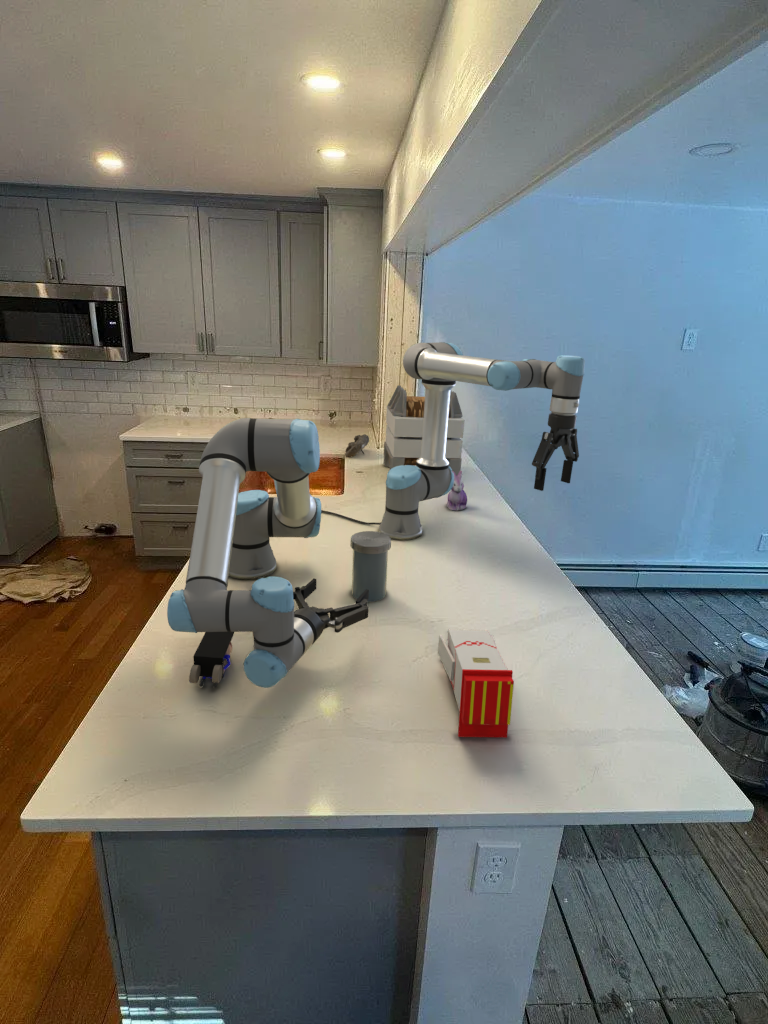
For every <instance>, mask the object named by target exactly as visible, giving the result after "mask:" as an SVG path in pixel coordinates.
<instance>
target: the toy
mask: <svg viewBox="0 0 768 1024" xmlns="http://www.w3.org/2000/svg"><path fill="white" fill-rule="evenodd" d="M446 640H447V643H446V641H445V639H444V636H443V635H442V634H439V637H438V646H437V656H438V657H439V659H440V661H441V663H442V666H443V668H444V670H445V672H446V674H447V677H448V679H449V681H450V684H451V687H452V690H453V693H454V697H455V701H456V705H457V708H458V711H459V714H458V715H459V716H458V730H457V731H458V732H457V737H458V738H508V731H509V726H510V725H511V717H512V707H513V697H514V696H513V695H514V684H515V680H514V679H513V673H514V671H513V670H512V669H508V667H507V665H506V662H505V661H504V659H503V658H502V655H501V653H500V651H499V649H498V647H497V643H496V639H495V637H494V635H493V634H491V632H490V631H489V629H467V628H466V629H465V628H463V629H461V628H460V629H459V628H448V630H447V639H446Z"/></svg>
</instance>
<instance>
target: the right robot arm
mask: <svg viewBox="0 0 768 1024" xmlns="http://www.w3.org/2000/svg"><path fill="white" fill-rule="evenodd" d="M585 365H586V360H585V358H584V357H582V356H578V355H566V354H565V355H564V354H563V355H558V356H557V357H556V360H555V361H549V360H541V359H536V358H524V359H521V360H506V359H505V360H504V359H503V360H502V359H496V358H487V357H479V356H471V355H464V354H463V352H462V350H461V349H460V347H459V346H457V345H456V344H455V343H451V342H445V341H443V342H442V341H441V342H440V341H439V342H438V341H437V342H417V343H414V344H412V345H411V346H409V347H408V348H407V350H406V351H405V353H404V355H403V358H402V366H403V369H404V372H405V373H406V374H407V375H408V376H409V377H411V378H412V379H415V380H421V385H422V386H423V387H424V389H425V392H424V397H425V404H424V419H423V434H422V449H421V457H420V458H418V459H417V461H416V466H413V465H401V466H396V467H394V468H392V469H390V468H389V470H388V472H387V474H386V479H385V504H384V505H385V507H384V508H385V509H384V513H383V515H382V519H381V522H367V521H361V520H358V519H355V518H352V517H349V516H346V515H343V514H339V513H336V512H333V511H328V510H323V509H321V513H325V514H330V515H333V516H337V517H340V518H343V519H346V520H348V521H349V520H350V521H353V522H356V523H359V524H361V525H367V526H368V525H369V526H370V525H372V526H373V525H374V526H375V525H377V526H378V532H381V533H384V534H386V535H388V536H389V537H390V538H391V540H395V541H410V540H415V539H418V538H420V537H421V536H422V535H423V525H422V524H421V518H420V515H419V507H420V506H419V505H420V502H423V501H427V500H431V499H437V498H440V497H443V496H446V495H448V494H449V493H450V492H451V489H452V487H453V484H454V473H452V469H451V467H450V466H449V462H448V461H447V459H446V458H445V453H446V441H447V428H448V416H449V404H450V392H451V391H452V389H453V388H454V387H455V386H456V384H457V382H461V383H465V384H473V385H479V386H487V387H491V388H492V389H494V390H496V391H503V392H504V391H511V390H520V389H532V388H533V389H534V388H539V389H546V390H551V398H550V404H549V413H548V418H547V419H548V420H547V426H548V427H549V428H550V431H549V432H548V431H543V432H542V435H541V440H540V442H539V445H538V447H537V449H536V452H535V454H534V457H533V460H532V461H531V466H533V467H535V475H534V477H535V478H534V485H533V489H534V490H537V491H539V492H543V491H544V489H545V484H546V483H545V482H546V476H547V468H546V466H547V465H548V463H549V461H550V459H551V457H552V456H553V454H554V453H555V451H556V450H557V449H558V448H560V447H561V449H562V452H563V455H564V458H565V459H563V463H562V468H561V469H562V470H561V475H560V482H562V483H566V484H571V478H572V472H573V466H574V463H576V462H578V461H579V457H580V453H579V444H578V428H576V423H577V419H578V416H577V414H578V412H579V411H578V410H579V406H580V397H581V391H582V385H583V380H584V376H585Z"/></svg>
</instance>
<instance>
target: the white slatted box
mask: <svg viewBox="0 0 768 1024" xmlns="http://www.w3.org/2000/svg"><path fill="white" fill-rule="evenodd" d="M407 394H408V393H407V390H406V389H404V388H403V387H402V385H399V384H398V385H397V386H396V388H395V390H394V392H393V394H392V395H391V398H390V400H389V402H388V404H387V405H386V413H385V414H386V415H385V423H386V428H385V438H384V442H383V466H384V467H388V468H389V470H390V469H392V468H394V467H396V466H401V465H404V466H405V465H413V466H416V461H417V459H418V458H420V457H421V449H422V434H423V419H424V404H425V396H415V395H414V396H413V395H412V396H411V395H407ZM464 429H465V419H464V418H463V411H462V408H461V405H460V402H459V398H458V395H457V392H455V391H453V390H451V392H450V404H449V416H448V428H447V441H446V453H445V458H446V459H447V461H448V462H449V466H450V467H451V469H452V471H454V472H455V474H456V475H458V473H459V472H460V471H462V461H463V460H462V453H463V442H464V441H463V440H462V439H463V438H464V431H465V430H464Z"/></svg>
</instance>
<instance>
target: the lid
mask: <svg viewBox="0 0 768 1024" xmlns="http://www.w3.org/2000/svg"><path fill="white" fill-rule="evenodd" d="M350 548H351V549H352V551H353V550H355V551H357V552H360V553H365V554H379V553H384V552H386V551H388V552H389V551H390V550H391V548H392V539H391V538H390V537H389V536H388V535H386V534H384V533H381V532H379V531H376V530H375V531H373V530H365V531H359V532H355V533H354V534H352V535H351V536H350Z"/></svg>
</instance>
